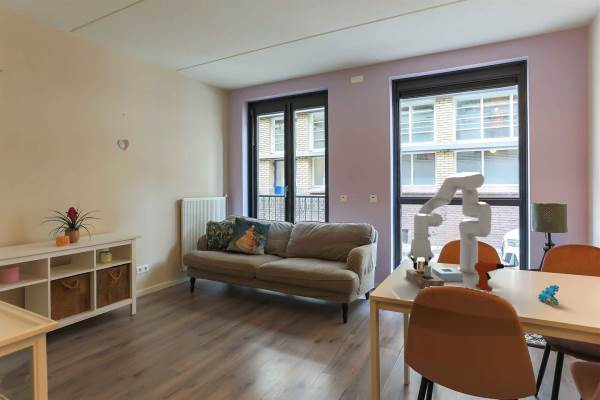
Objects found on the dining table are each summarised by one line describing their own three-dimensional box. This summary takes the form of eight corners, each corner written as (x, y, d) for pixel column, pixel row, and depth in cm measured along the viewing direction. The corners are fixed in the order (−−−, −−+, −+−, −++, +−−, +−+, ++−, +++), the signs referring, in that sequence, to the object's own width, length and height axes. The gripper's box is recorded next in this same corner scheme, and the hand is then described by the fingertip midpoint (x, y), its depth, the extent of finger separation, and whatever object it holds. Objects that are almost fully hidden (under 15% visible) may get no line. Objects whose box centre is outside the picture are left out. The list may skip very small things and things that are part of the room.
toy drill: (519, 291, 166) (515, 261, 166) (475, 291, 175) (472, 262, 175) (517, 288, 171) (514, 259, 171) (475, 288, 179) (472, 260, 179)
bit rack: (427, 277, 196) (427, 269, 196) (443, 290, 174) (444, 280, 174) (406, 278, 196) (406, 269, 195) (420, 290, 174) (420, 281, 173)
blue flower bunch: (535, 292, 165) (555, 280, 160) (546, 301, 164) (565, 290, 159) (538, 302, 156) (558, 290, 151) (548, 312, 154) (569, 301, 150)
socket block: (452, 275, 199) (452, 267, 199) (462, 282, 187) (462, 273, 187) (431, 276, 199) (432, 267, 199) (440, 282, 187) (440, 273, 187)
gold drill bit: (422, 278, 191) (422, 260, 191) (424, 280, 188) (424, 262, 188) (416, 278, 191) (417, 260, 191) (418, 280, 188) (419, 262, 188)
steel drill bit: (429, 284, 181) (429, 265, 181) (431, 285, 178) (432, 266, 178) (423, 284, 181) (423, 265, 181) (425, 285, 178) (425, 267, 178)
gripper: (433, 235, 192) (433, 267, 193) (403, 235, 192) (403, 267, 193) (439, 237, 185) (438, 270, 186) (407, 237, 184) (407, 271, 186)
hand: (420, 268), depth 189 cm, fingers open, 5 cm apart
